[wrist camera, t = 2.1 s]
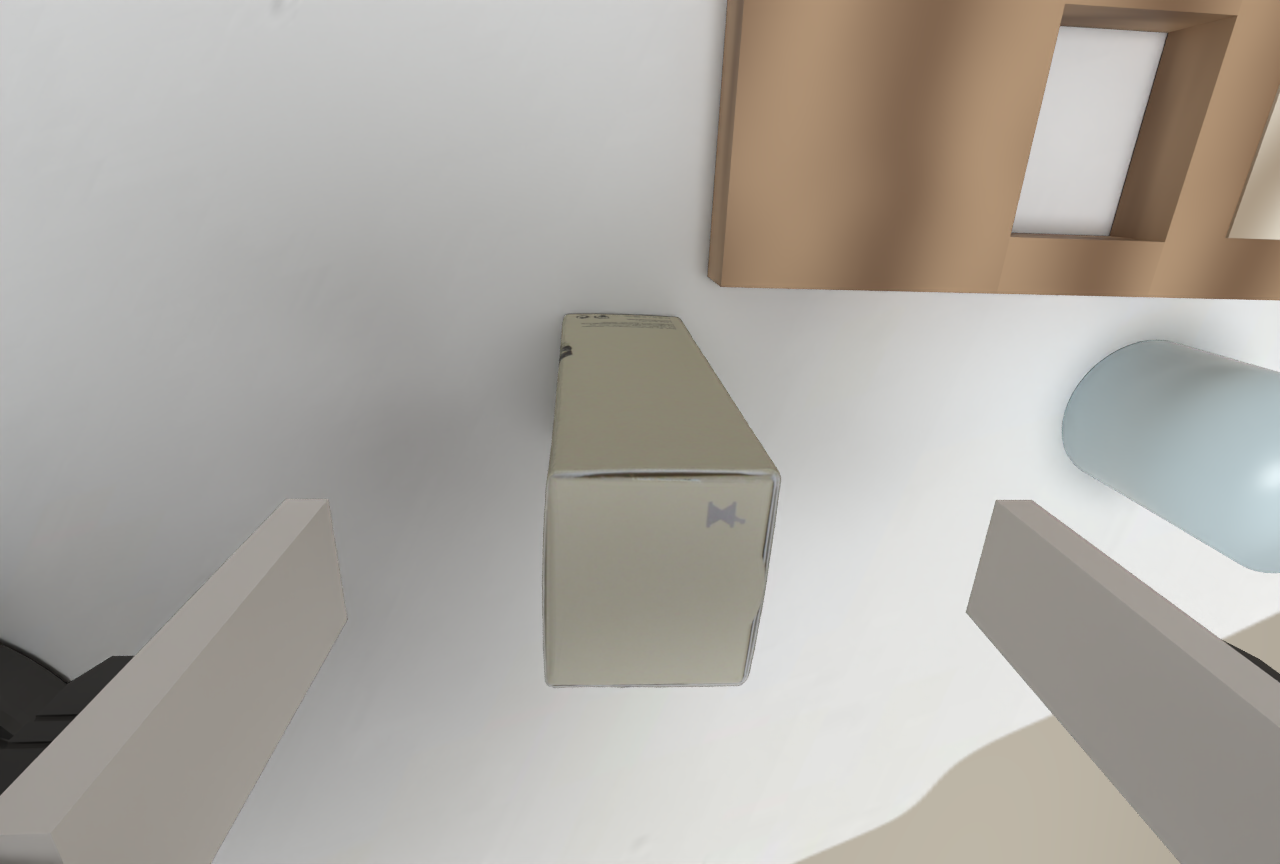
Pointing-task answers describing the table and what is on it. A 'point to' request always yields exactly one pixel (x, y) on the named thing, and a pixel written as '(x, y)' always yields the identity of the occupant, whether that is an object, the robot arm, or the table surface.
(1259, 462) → the pale blue capsule
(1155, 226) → the brown flat wooden slab
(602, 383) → the box
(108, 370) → the table surface
